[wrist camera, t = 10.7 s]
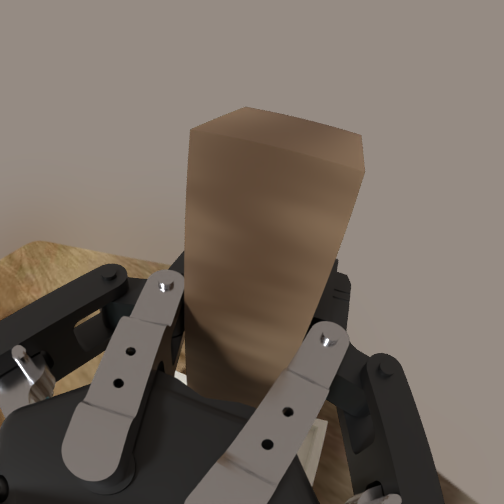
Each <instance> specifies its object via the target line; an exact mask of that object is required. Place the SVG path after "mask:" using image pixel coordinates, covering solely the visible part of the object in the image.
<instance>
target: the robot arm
mask: <svg viewBox="0 0 504 504" xmlns="http://www.w3.org/2000/svg"><path fill="white" fill-rule="evenodd" d="M337 266H338V259H335V262H334V264H333V267H332V270H331V272H330V275H329V278H328V280H327V283H326V285H325V288H324V291H323V293H322V296H321V298H320V301H319V303H318V306H317V308H316V311H315V313H314V315H313V318H312V320H311V323H310V325H309V327H308V330H307V332H306V335H305V337H304V339H303V342H302V344H301V346H300V347H299V349H298V351H297V352H296V354H295V355H294V357H293V359H292V360H291V362H290V363H289V365H288V366H287V368H286V367H285V368H284V370H283V371H282V372H281V374H280V375H279V377H278V378H277V380H276V381H275V383H274V384H273V386H272V387H271V389H270V390H269V392H268V393H267V395H266V396H265V398H264V399H263V401H262V402H261V403H260V405H259V406H258V408H255V407H252V406H249V405H246V404H243V403H240V402H233V401H225V400H217V399H210V398H205V397H203V396H201V395H200V394H198V393H197V392H195V391H194V390H193V389H191V388H190V387H188V386H187V385H186V384H184V383H183V382H182V381H180V380H179V379H177V378H175V377H174V376H175V370H176V367H177V363H178V359H179V356H180V352H181V349H182V345H183V342H184V338H185V317H184V251H183V253H182V254H181V255H180V256H179V257H178V259H177V260H176V261H175V262H174V263H173V264H172V266H171V267H170V268H169V269H168V270H160V271H157V272H155V273H153V274H152V275H150V276H149V278H148V279H139V278H130V277H128V276H127V271H126V269H125V268H124V267H122V266H121V265H118V264H105V265H102V266H100V267H98V268H96V269H94V270H92V271H90V272H88V273H86V274H84V275H83V276H81V277H79V278H77V279H75V280H73V281H71V282H69V283H67V284H66V285H64V286H62V287H60V288H58V289H56V290H54V291H53V292H51V293H49V294H47V295H45V296H43V297H42V298H40V299H38V300H36V301H34V302H33V303H31V304H29V305H27V306H26V307H24V308H22V309H20V310H18V311H17V312H15V313H13V314H12V315H10V316H8V317H6V318H5V319H3V320H1V321H0V408H1V410H2V412H3V414H4V416H5V418H6V419H5V420H4V422H3V423H2V426H1V428H0V504H320V503H319V501H318V499H317V497H316V495H315V493H314V490H313V488H312V486H311V484H310V482H309V480H308V477H307V475H306V473H305V471H304V469H303V466H302V464H301V462H300V460H299V457H298V455H297V452H298V450H299V448H300V446H301V445H302V443H303V441H304V439H305V438H306V436H307V434H308V432H309V430H310V428H311V427H312V425H313V423H314V421H315V419H316V417H317V415H318V413H319V411H320V409H321V407H322V405H323V403H324V402H325V400H328V401H329V402H331V403H332V404H334V405H336V406H337V413H338V417H339V422H340V427H341V431H342V436H343V441H344V446H345V451H346V456H347V461H348V466H349V471H350V476H351V482H352V487H353V492H354V496H352V497H351V498H349V499H348V500H347V501H346V503H345V504H445V503H444V499H443V495H442V491H441V487H440V483H439V479H438V475H437V472H436V468H435V465H434V461H433V457H432V454H431V451H430V447H429V444H428V441H427V437H426V435H425V431H424V428H423V425H422V422H421V419H420V416H419V413H418V410H417V407H416V404H415V401H414V398H413V396H412V393H411V390H410V387H409V385H408V382H407V379H406V376H405V374H404V371H403V369H402V366H401V364H400V363H399V362H398V361H397V360H396V359H395V358H394V357H392V356H390V355H388V354H384V353H378V354H374V355H372V356H371V357H369V356H367V355H365V354H364V353H362V352H360V351H359V350H357V349H356V348H355V347H354V346H353V345H352V344H351V343H350V341H349V336H348V334H347V332H346V328H347V320H348V311H349V301H350V290H351V283H350V281H349V279H348V276H347V275H345V274H342V273H339V272H337ZM98 309H100V313H99V314H97V315H95V316H94V317H92V318H90V319H89V320H87V321H85V322H84V323H82V324H80V325H79V326H77V327H75V328H74V326H75V324H76V323H77V322H78V321H80V320H81V319H83V318H85V317H86V316H88V315H90V314H92V313H93V312H95V311H97V310H98ZM105 350H106V351H105ZM103 351H105V353H104V355H103V357H102V360H101V362H100V364H99V366H98V369H97V371H96V373H95V376H94V378H93V380H92V383H91V384H89V385H86V386H83V387H80V388H77V389H74V390H72V391H69V392H66V393H63V394H60V395H57V396H54V397H52V396H53V389H54V387H55V382H57V381H59V380H60V379H62V378H63V377H65V376H66V375H68V374H69V373H71V372H72V371H74V370H76V369H77V368H79V367H80V366H82V365H83V364H85V363H86V362H88V361H90V360H91V359H93V358H94V357H96V356H97V355H99V354H100V353H102V352H103Z"/></svg>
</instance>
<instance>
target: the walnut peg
mask: <svg viewBox="0 0 504 504" xmlns="http://www.w3.org/2000/svg"><path fill="white" fill-rule="evenodd" d="M188 155H189V156H188V170H187V189H186V190H187V191H186V213H185V214H186V215H185V251H184V317H185V355H186V378H187V386H188V387H190V388H191V389H193V390H194V391H195V392H197V393H198V394H200V395H201V396H203V397H205V398H210V399H217V400H225V401H233V402H240V403H243V404H246V405H249V406H252V407H255V408H258V406H259V405H260V403H261V402H262V401H263V399H264V398H265V396H266V395H267V393H268V392H269V390H270V389H271V387H272V386H273V384H274V383H275V381H276V380H277V378H278V377H279V375H280V374H281V372H282V371H283V370H284V368H285V367H286V368H287V366H288V365H289V363H290V362H291V360H292V359H293V357H294V355H295V354H296V352H297V351H298V349H299V347H300V346H301V344H302V342H303V339H304V337H305V335H306V332H307V330H308V327H309V325H310V323H311V320H312V318H313V315H314V313H315V311H316V308H317V306H318V303H319V301H320V298H321V296H322V293H323V291H324V288H325V285H326V283H327V280H328V278H329V275H330V272H331V270H332V267H333V264H334V262H335V259H336V256H337V254H338V251H339V248H340V245H341V242H342V240H343V237H344V234H345V231H346V228H347V225H348V222H349V220H350V217H351V214H352V211H353V208H354V205H355V202H356V199H357V196H358V193H359V189H360V186H361V183H362V180H363V177H364V173H365V167H364V157H363V147H362V137H361V135H359V134H356V133H353V132H349V131H346V130H343V129H339V128H336V127H332V126H328V125H324V124H321V123H317V122H313V121H309V120H305V119H301V118H297V117H292V116H288V115H284V114H279V113H274V112H270V111H265V110H260V109H255V108H249V107H244V108H241V109H238V110H236V111H233V112H231V113H228V114H226V115H223V116H221V117H218V118H216V119H213V120H211V121H209V122H206V123H204V124H202V125H199V126H197V127H195V128H192V129H191V130H190V140H189V154H188Z"/></svg>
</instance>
